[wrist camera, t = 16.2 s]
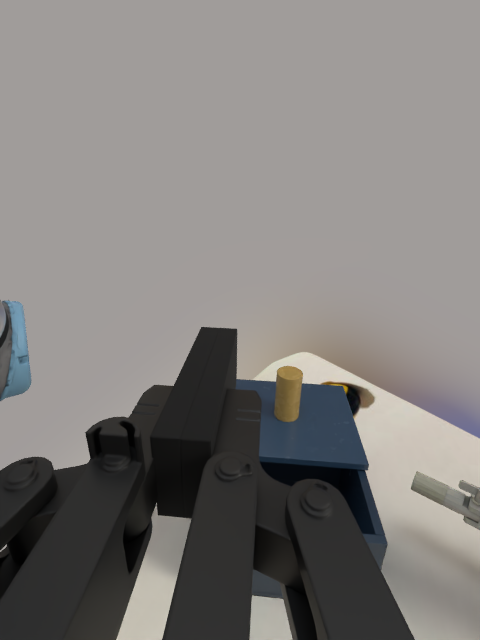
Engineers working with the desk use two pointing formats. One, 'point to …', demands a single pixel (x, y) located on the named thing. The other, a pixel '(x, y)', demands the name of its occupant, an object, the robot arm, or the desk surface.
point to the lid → (306, 423)
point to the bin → (356, 496)
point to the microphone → (451, 497)
